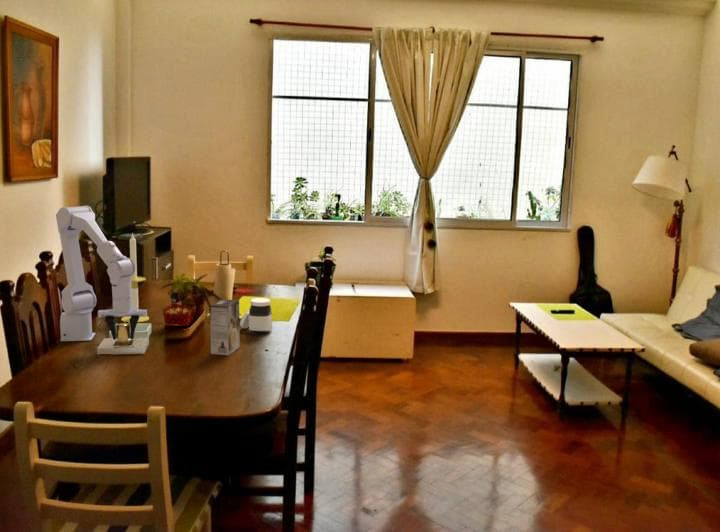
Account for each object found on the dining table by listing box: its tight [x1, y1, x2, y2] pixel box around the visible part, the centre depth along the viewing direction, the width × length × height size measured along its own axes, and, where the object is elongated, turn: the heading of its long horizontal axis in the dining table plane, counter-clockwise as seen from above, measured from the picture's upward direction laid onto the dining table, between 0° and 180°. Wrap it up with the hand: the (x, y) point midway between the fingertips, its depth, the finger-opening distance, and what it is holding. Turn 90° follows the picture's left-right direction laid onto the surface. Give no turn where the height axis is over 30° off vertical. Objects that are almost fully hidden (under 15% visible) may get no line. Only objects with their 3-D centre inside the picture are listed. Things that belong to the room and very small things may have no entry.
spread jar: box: [239, 297, 273, 336], centre depth 238 cm, size 12×11×12 cm
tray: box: [108, 323, 153, 339], centre depth 228 cm, size 12×10×3 cm
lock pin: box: [116, 322, 130, 346], centre depth 214 cm, size 4×4×8 cm
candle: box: [120, 232, 150, 324], centre depth 246 cm, size 10×10×32 cm
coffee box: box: [209, 298, 241, 356], centre depth 214 cm, size 9×6×16 cm
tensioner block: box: [96, 337, 150, 356], centre depth 214 cm, size 14×11×2 cm
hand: (123, 338), depth 214 cm, fingers open, 5 cm apart
